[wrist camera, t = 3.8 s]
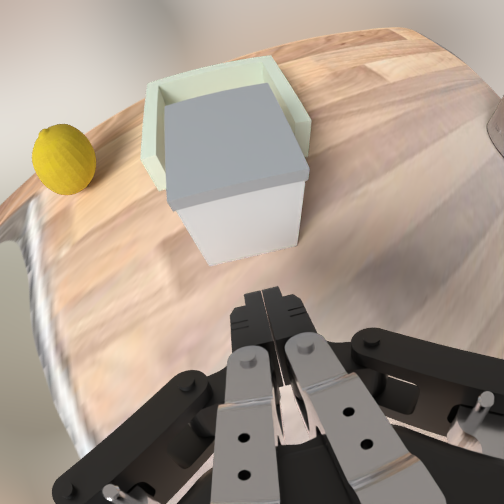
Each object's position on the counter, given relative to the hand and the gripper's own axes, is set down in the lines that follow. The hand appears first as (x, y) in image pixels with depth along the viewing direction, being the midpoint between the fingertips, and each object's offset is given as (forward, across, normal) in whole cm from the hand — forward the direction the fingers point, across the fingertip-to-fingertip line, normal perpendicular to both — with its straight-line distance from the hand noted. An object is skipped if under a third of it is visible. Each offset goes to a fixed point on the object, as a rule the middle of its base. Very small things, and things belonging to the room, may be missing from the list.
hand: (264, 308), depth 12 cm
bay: (+16, 0, -9) cm, 19 cm away
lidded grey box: (+10, 0, -2) cm, 10 cm away
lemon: (+15, +14, -7) cm, 22 cm away
